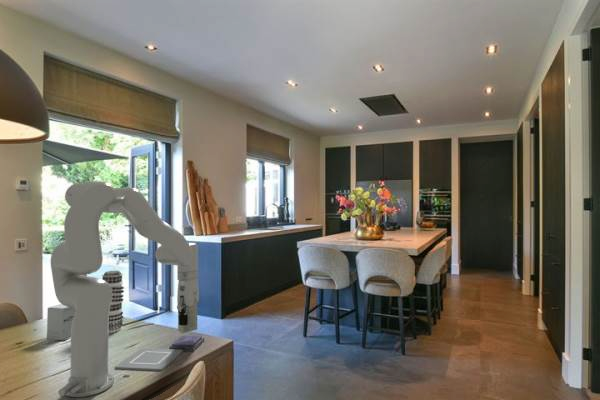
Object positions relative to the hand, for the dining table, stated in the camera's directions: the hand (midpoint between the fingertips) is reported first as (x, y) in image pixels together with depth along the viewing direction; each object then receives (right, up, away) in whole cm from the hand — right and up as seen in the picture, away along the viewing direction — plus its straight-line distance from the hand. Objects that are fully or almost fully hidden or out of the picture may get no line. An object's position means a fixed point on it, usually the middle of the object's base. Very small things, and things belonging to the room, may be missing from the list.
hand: (187, 321), depth 137 cm
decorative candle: (-38, -10, +18) cm, 43 cm away
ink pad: (0, -9, 0) cm, 9 cm away
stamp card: (-8, -9, -14) cm, 18 cm away
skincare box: (0, -4, 0) cm, 4 cm away
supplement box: (-54, -10, +9) cm, 56 cm away
